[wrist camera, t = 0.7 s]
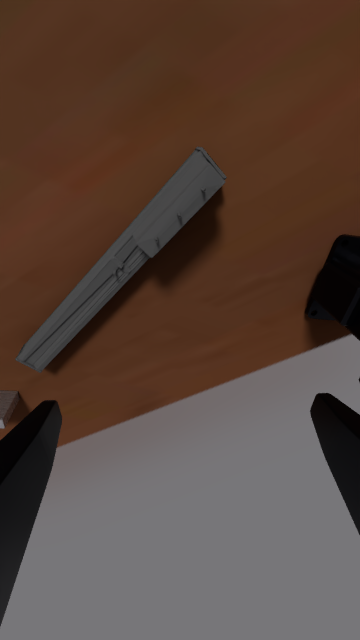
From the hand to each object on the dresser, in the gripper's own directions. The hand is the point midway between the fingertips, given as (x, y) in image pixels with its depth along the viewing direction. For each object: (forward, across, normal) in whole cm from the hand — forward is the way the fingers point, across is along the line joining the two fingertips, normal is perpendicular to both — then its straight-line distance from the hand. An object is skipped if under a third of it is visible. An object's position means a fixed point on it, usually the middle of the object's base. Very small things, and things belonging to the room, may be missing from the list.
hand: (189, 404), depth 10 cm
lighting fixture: (+12, +4, 0) cm, 13 cm away
